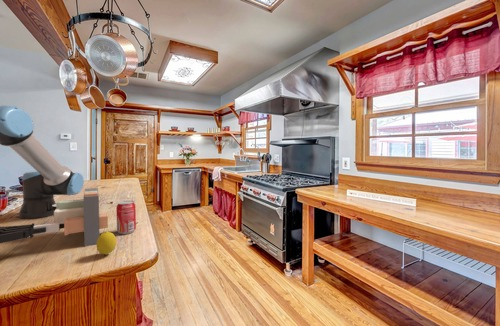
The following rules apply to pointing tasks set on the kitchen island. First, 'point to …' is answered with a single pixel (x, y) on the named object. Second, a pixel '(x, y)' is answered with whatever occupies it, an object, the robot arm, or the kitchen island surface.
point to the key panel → (91, 216)
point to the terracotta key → (82, 224)
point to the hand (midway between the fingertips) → (59, 226)
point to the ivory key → (67, 214)
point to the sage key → (70, 204)
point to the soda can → (126, 217)
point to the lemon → (106, 243)
